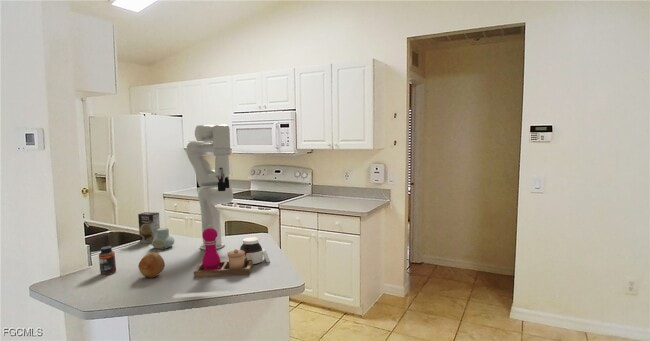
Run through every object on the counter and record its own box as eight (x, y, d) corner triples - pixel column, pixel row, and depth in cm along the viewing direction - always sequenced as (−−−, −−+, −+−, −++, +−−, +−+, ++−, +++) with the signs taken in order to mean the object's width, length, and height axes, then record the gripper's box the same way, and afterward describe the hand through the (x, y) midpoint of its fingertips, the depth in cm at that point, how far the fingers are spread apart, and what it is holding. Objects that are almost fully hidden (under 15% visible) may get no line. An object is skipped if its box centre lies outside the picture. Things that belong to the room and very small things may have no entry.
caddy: (201, 270, 161) (200, 262, 161) (252, 268, 163) (252, 260, 162) (194, 280, 150) (193, 271, 150) (249, 277, 152) (249, 268, 151)
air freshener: (149, 249, 195) (148, 230, 194) (159, 244, 203) (158, 226, 202) (167, 250, 193) (166, 231, 192) (177, 245, 201) (176, 227, 200)
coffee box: (139, 242, 208) (137, 214, 207) (146, 239, 215) (144, 211, 213) (154, 243, 207) (152, 214, 205) (161, 239, 213) (159, 212, 212)
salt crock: (229, 268, 160) (228, 247, 159) (246, 267, 160) (245, 246, 160) (227, 274, 153) (225, 252, 152) (244, 273, 153) (243, 251, 153)
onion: (139, 274, 159) (138, 251, 158) (165, 270, 162) (163, 248, 162) (138, 282, 150) (136, 258, 149) (165, 278, 154) (163, 254, 153)
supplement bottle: (113, 269, 166) (112, 244, 165) (118, 272, 161) (116, 247, 160) (98, 273, 161) (96, 247, 160) (102, 276, 157) (100, 250, 156)
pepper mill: (215, 275, 152) (213, 227, 150) (199, 274, 153) (196, 226, 151) (223, 269, 159) (221, 222, 157) (208, 268, 160) (205, 222, 158)
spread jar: (237, 264, 168) (236, 239, 167) (258, 258, 176) (257, 234, 175) (254, 270, 160) (252, 243, 159) (274, 263, 168) (273, 238, 167)
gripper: (217, 151, 178) (219, 187, 179) (209, 153, 161) (211, 192, 162) (233, 151, 178) (235, 186, 180) (227, 152, 161) (229, 192, 163)
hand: (223, 189), depth 171 cm, fingers open, 9 cm apart
